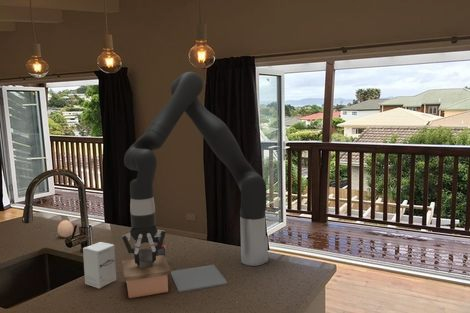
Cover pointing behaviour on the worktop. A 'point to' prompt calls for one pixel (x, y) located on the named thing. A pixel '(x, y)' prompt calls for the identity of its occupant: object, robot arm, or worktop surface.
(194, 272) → the mat
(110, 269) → the supplement box
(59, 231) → the egg
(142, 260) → the lid
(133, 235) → the robot arm
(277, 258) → the worktop surface
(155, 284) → the open cardboard tray
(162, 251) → the supplement bottle
